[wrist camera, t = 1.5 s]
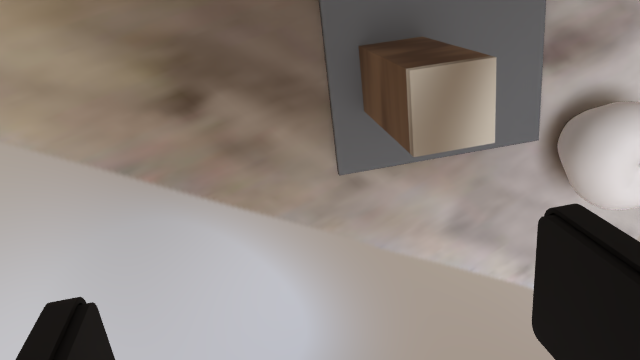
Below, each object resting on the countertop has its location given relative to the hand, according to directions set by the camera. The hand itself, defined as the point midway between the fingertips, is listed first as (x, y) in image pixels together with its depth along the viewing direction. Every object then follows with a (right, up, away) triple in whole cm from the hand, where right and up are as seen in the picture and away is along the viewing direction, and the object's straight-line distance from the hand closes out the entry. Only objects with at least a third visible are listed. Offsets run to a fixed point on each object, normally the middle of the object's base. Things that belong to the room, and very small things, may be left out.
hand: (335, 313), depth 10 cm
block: (+4, +9, +21) cm, 23 cm away
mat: (+7, +10, +22) cm, 25 cm away
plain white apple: (+18, +6, +26) cm, 32 cm away
